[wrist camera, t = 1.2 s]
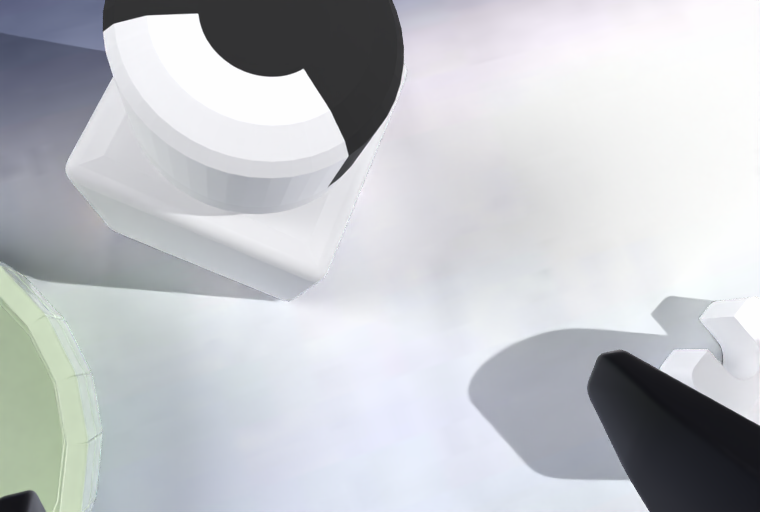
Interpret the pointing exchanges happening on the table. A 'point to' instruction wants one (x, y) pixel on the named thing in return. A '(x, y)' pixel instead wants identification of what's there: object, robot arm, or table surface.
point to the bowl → (45, 403)
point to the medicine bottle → (240, 130)
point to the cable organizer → (725, 357)
